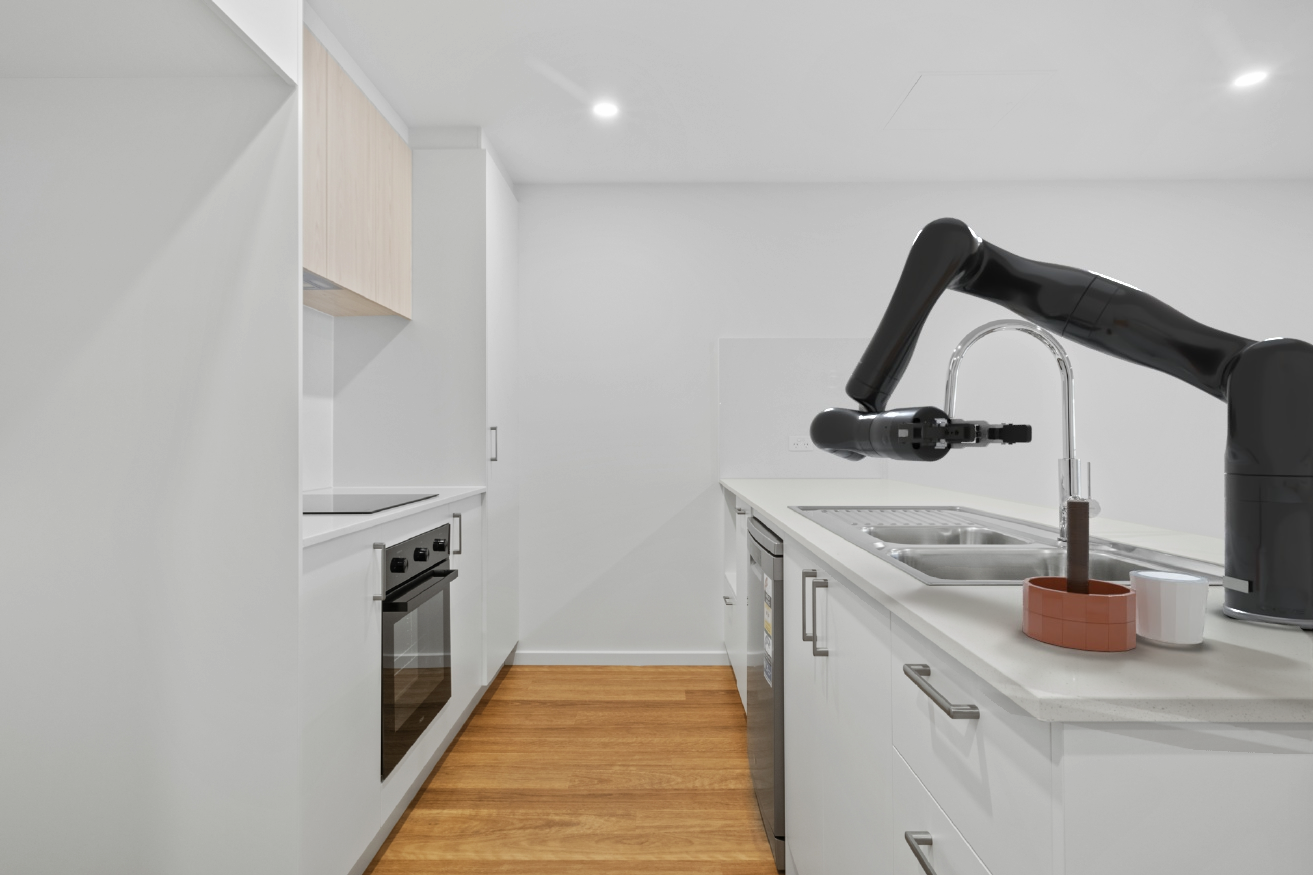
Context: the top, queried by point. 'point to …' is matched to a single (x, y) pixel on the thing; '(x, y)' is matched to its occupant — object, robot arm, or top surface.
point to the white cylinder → (1170, 605)
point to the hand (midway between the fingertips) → (1001, 433)
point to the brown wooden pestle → (1078, 546)
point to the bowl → (1080, 614)
